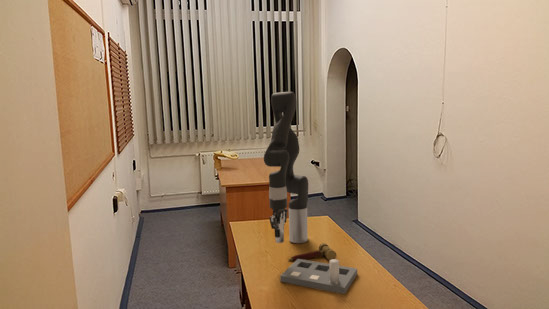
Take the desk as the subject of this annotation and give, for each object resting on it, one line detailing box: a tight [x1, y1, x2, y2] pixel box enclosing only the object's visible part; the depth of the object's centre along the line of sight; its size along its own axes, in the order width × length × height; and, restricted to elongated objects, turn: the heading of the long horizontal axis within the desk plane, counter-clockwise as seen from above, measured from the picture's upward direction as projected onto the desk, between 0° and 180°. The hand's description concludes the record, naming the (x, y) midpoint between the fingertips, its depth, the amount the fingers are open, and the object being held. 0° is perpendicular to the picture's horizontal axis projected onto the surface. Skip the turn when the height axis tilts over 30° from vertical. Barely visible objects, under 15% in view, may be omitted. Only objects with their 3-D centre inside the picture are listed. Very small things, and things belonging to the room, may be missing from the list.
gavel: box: [288, 243, 337, 262], centre depth 182 cm, size 21×5×10 cm
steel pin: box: [274, 218, 285, 244], centre depth 173 cm, size 4×4×10 cm
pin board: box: [279, 258, 358, 295], centre depth 162 cm, size 18×26×10 cm
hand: (279, 235), depth 174 cm, fingers closed on steel pin, 3 cm apart
